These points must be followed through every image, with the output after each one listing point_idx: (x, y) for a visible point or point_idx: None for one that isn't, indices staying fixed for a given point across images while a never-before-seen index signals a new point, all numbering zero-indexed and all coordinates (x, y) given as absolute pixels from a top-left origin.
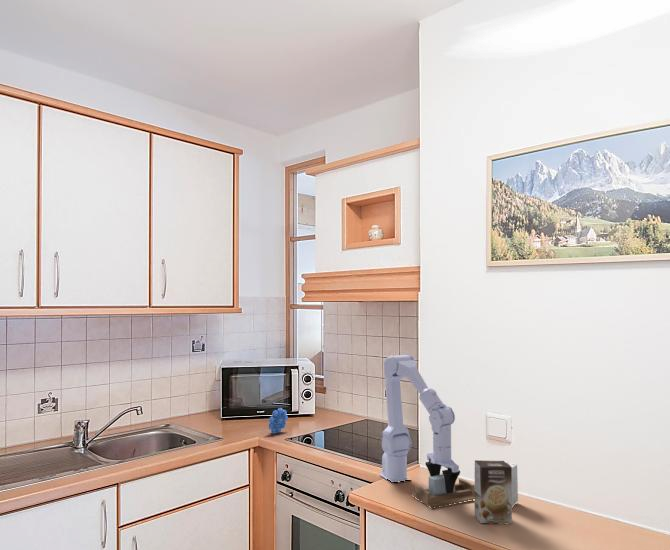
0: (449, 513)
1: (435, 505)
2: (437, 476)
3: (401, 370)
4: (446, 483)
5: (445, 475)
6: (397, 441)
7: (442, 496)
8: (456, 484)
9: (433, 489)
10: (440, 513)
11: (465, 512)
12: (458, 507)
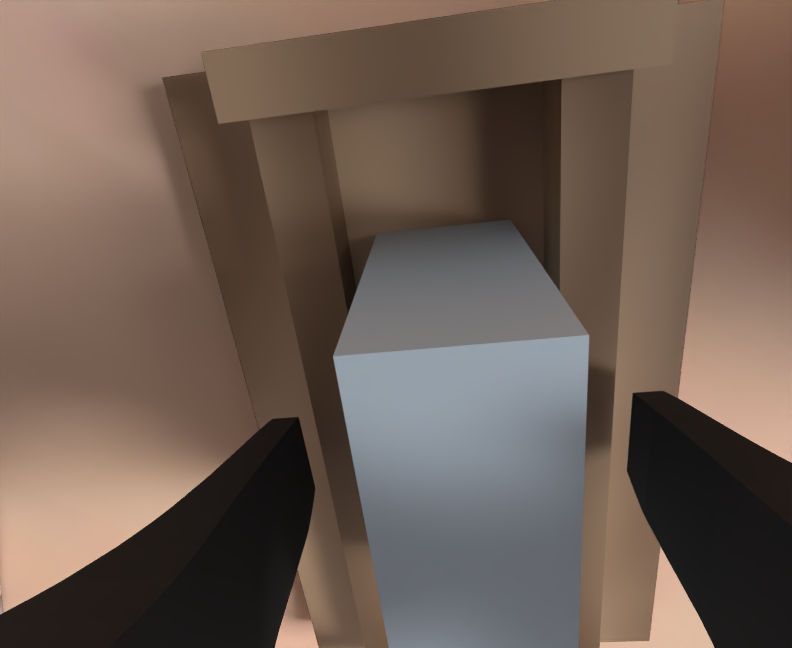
0: (43, 236)
1: (185, 149)
2: (521, 524)
3: None
4: (189, 503)
5: (3, 641)
6: None
7: (298, 335)
8: (582, 640)
9: (380, 272)
10: (43, 129)
11: (66, 399)
12: (195, 401)
